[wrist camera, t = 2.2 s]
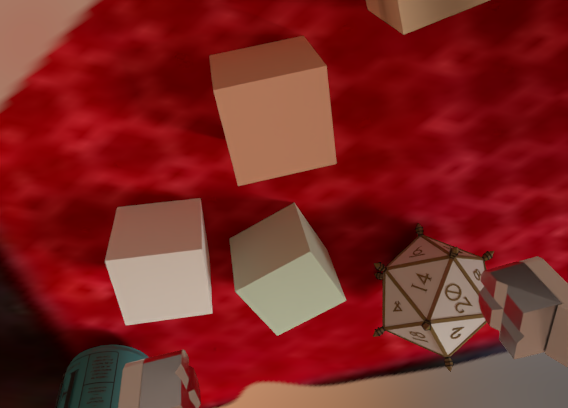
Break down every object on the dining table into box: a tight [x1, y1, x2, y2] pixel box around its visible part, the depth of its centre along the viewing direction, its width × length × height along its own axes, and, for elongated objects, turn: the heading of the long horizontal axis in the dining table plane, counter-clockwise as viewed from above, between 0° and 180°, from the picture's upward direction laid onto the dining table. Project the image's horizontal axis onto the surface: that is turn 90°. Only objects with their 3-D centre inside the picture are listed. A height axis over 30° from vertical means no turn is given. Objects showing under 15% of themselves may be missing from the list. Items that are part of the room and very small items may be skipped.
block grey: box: [105, 198, 212, 325], centre depth 28 cm, size 5×5×5 cm
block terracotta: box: [209, 36, 337, 186], centre depth 23 cm, size 5×5×5 cm
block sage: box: [229, 203, 346, 336], centre depth 30 cm, size 5×5×5 cm
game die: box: [373, 223, 494, 372], centre depth 31 cm, size 9×8×10 cm
